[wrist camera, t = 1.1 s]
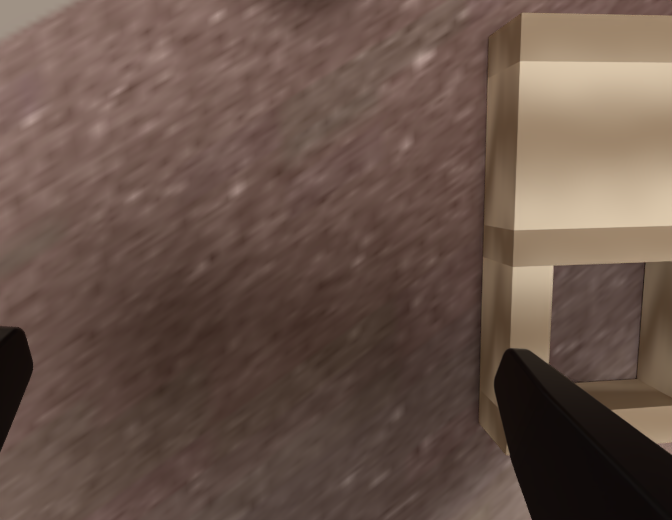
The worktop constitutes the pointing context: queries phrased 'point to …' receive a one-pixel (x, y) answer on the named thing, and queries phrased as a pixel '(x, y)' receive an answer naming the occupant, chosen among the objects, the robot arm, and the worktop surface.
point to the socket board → (578, 191)
